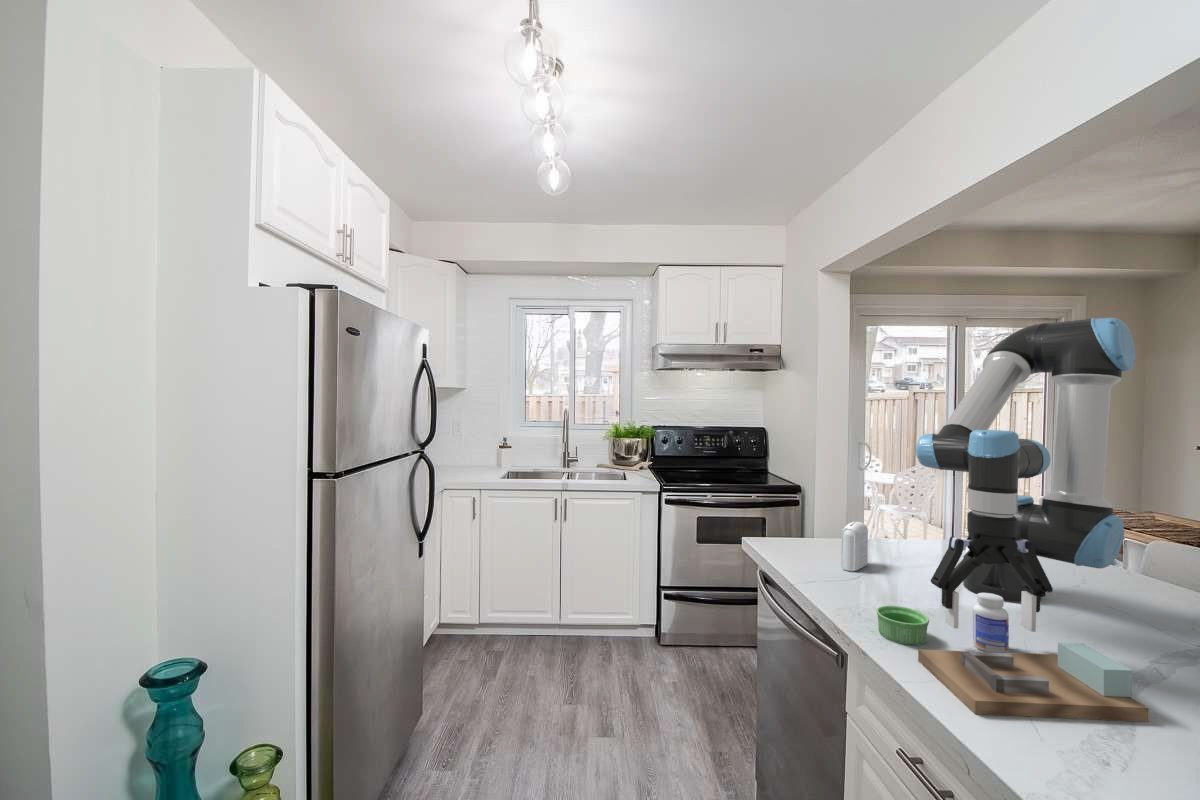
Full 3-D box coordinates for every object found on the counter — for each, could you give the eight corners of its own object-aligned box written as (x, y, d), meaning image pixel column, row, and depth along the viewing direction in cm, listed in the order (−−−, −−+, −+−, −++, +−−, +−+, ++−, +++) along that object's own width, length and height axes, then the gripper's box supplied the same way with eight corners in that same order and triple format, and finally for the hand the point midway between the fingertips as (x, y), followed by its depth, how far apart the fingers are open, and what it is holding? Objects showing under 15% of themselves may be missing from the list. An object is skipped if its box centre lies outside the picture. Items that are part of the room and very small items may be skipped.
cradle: (1060, 666, 94) (1061, 643, 94) (1148, 721, 78) (1148, 694, 78) (918, 660, 95) (918, 638, 95) (975, 714, 79) (975, 687, 79)
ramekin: (907, 651, 99) (907, 627, 99) (865, 631, 107) (866, 609, 107) (939, 642, 103) (939, 619, 103) (896, 623, 111) (897, 602, 111)
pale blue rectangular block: (1083, 667, 89) (1083, 643, 89) (1132, 697, 80) (1132, 670, 80) (1057, 666, 89) (1057, 642, 89) (1103, 695, 80) (1104, 669, 80)
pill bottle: (1014, 656, 97) (1015, 603, 97) (981, 653, 98) (981, 600, 98) (998, 643, 102) (999, 592, 102) (967, 640, 103) (967, 590, 103)
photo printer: (853, 561, 152) (854, 518, 152) (869, 564, 149) (870, 520, 149) (839, 569, 145) (839, 523, 145) (855, 573, 142) (856, 526, 142)
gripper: (1047, 510, 103) (1045, 621, 103) (912, 507, 104) (910, 616, 105) (1079, 519, 95) (1077, 639, 95) (933, 515, 97) (931, 632, 97)
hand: (989, 627), depth 100 cm, fingers open, 13 cm apart
